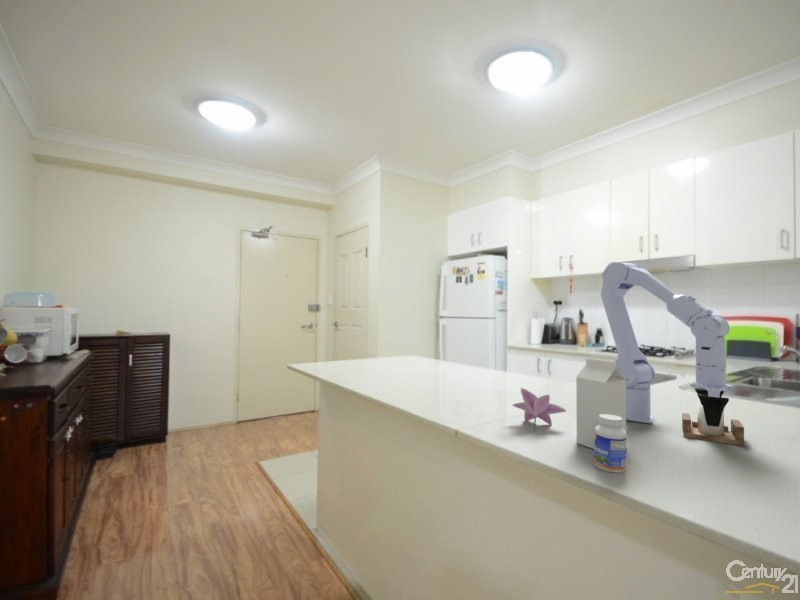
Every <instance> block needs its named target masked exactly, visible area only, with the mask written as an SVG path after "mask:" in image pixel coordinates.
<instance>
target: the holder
mask: <svg viewBox="0 0 800 600" xmlns="http://www.w3.org/2000/svg"><path fill="white" fill-rule="evenodd" d="M681 414H682V415H681V418H682V419H681V420H682V421H681V422H682V423H681V430H682V435H683V438H691V439H696V440H697V439H698V440H703V441H711V442H716V443H723V444H730V445H736V446H741V447H745V446H746V445H745V444H746V442H745V426H743V424H742V423H741V420H739V419H732V418H731V419H730V430H729V425H725V424H724V435H722V436H717V435H709V434H705V433H701V432H699V431H698V421H694V420H692V418H691V414H690V413H685V412H682V413H681Z"/></svg>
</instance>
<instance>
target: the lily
mask: <svg viewBox="0 0 800 600" xmlns="http://www.w3.org/2000/svg"><path fill="white" fill-rule="evenodd" d="M520 393H521V396H522V401H523V402H516V403H513V404H512V405H511V406H513V407H514V408H517V409H520V410H522V411H524V415H523V416H524V417H523V418H524V421H526V422H527V421H528V422H529V421H531V420H533V421H534V422H533V423H534V425H533V427H534V429H533V431H534V432H536V421H537V418H539V419H540V420H542V421H543V422H544V423H547V424H548V425H549V426H552V425H553V422H552V418H551V416H550V415H554V414H559V413H566V412H567V410H566V409H565V408H563V407H561V406H559V405H557V404H555V403H554V404H553V403H550V398H551V397H550V394H545V395H542V396H540V397H537V396H536V395H535V394H534V393H533V392H531V391H529V390H527V389H525V388H523V387H521V388H520Z"/></svg>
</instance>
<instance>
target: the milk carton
mask: <svg viewBox="0 0 800 600" xmlns="http://www.w3.org/2000/svg"><path fill="white" fill-rule="evenodd" d="M585 360H586V362H585V364H584V366H583V367H582V369H580V371H579V373H578V374H577V376H576V382H575V383H576V444H579V445H580V446H584V447H587V448H590V449H593V450H595V427H596V426H598V425H600V423H599V415H601V414H610V415H616V416H619V417H621V418H622V420H623V425H622V426H621V428H622V429H624V430H625V432H626V433H627V420H626V379H625V378H624V377H623V375H622V374H621V373H620V372H619V370H618V369H617V368H616V362H615V361H609V360H608V361H607V360H600V359H594V358H593V359H592V358H586V359H585Z"/></svg>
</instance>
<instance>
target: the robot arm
mask: <svg viewBox="0 0 800 600" xmlns="http://www.w3.org/2000/svg"><path fill="white" fill-rule="evenodd" d="M601 277H602V280H603V281H602V286H601V290H600V291H601V292H600V297H601V302H602V303H603V307H604V311H605V314H606V318H607V320H608V324H609V327H610V331H611V334H612V337H613V341H614V344H615V348H616V350H617V351H616V352H617V356H616V357H615V360H614V362H616V368H617V369H618V370H619V372H620V373H621V374H622V375H623V377H624V378H625V379H626V421H629V422H630V421H631V422H636V423H645V424H650V425H651V424H653V418H654V417H653V415H652V414H651V382H652V381H654V379H655V376H656V373H655V372H656V371H655V369H654V368H653V366H652V365H651V364H650V363H649V361H648V358H647V356H646V355H645V354H644V353H643V352H642V351H641V350H640V348H639V344H638V341H637V338H636V334H635V332H634V328H633V324H632V322H631V319H630V316H629V312H628V309H627V306H626V303H625V299H624V297H625V296H626V294H627V293H628V292H629V291H630V290H631V289H632V288H633V287H635V286H640V287H642V288H643V289H644V290H646V291H648V292H649V293H650V294H652V295H653V296H654V297H656V298H658V299H659V300H661V301H662V302H663V303H664V304H666V310H667V312H668V313H670V314H671V315H672V316H674V317H675V319H678V320H679V321H680V322H681V323H683V324H684V325H685V326H686V327H688V328H689V329H690V332H691V334H692V335H693V336H694V337H695V382H694V386H695V387H696V388H694V391H695V392H696V395H697V397H698V400H699V402H700V405H702V406H703V409H704V414H705V420H706V423H707V425H708V426H715V427H719V424H720V421H721V416H722V413H723V410H724V411H725V408H726V406H727V404H728V403H729V401H730V399H729V397H724V396H723V395H724V390H727V389H728V390H729V389H730V390H733V388H734V386H733V385H732V384H727V347H726V336H727V335H729V331H730V323H729V322H728V321H727V320H726V319H725V318H724V316H722V315H719V314H717V315H716V314H714V315H713V313H714V311H713V310H712V309H710V308H708V309H707V308H705V307H704V306H703V305H701V304H700V303H699V302H697V301H696V300H697V298H696V297H694V296H693V295H687V294H677V293H676V292H674V291H673V290H672V289H671V288H669V287H668V286H667V285H666V284H664V282H662V281H661V280H659V279H658V278H657V277H655V276H654V275H653V274H652V273H650V272H649V271H648V270H647V269H645V268H644V267H643V268H642V267H641V266H640V265H639V264H637V263H633V262H632V263H629V262H622V261H618V260H617V261H612V262H610V263H608V265H607V266H606V267H605V269H604V270H603V271H602V273H601Z"/></svg>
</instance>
